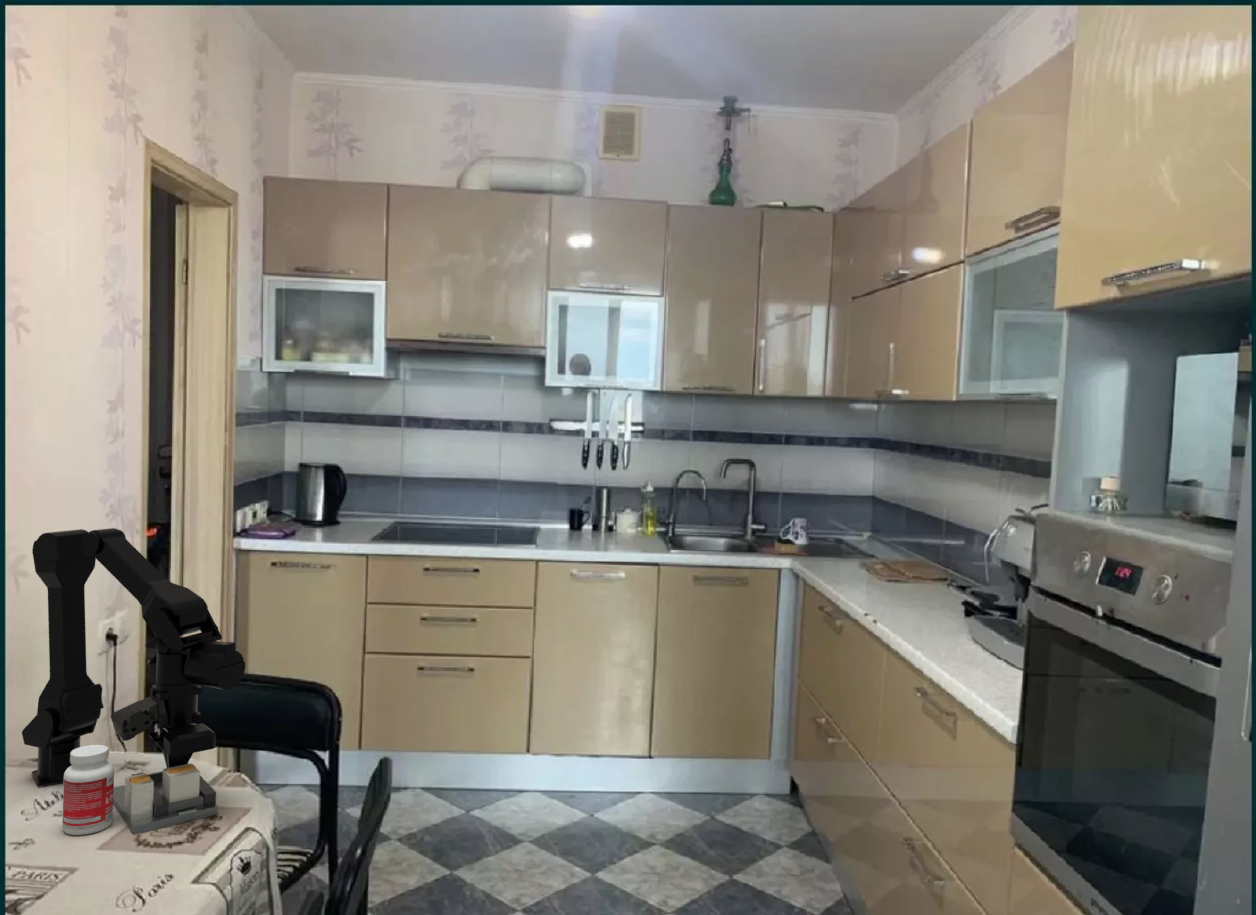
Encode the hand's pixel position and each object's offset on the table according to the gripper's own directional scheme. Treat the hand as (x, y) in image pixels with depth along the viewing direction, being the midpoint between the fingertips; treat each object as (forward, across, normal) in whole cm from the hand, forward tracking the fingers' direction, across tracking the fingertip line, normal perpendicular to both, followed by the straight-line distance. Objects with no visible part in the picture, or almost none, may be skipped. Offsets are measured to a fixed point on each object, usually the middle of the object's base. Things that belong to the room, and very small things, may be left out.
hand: (174, 781), depth 134 cm
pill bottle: (+4, +1, -12) cm, 12 cm away
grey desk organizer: (+3, 0, -2) cm, 4 cm away
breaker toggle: (+2, +4, 0) cm, 4 cm away
